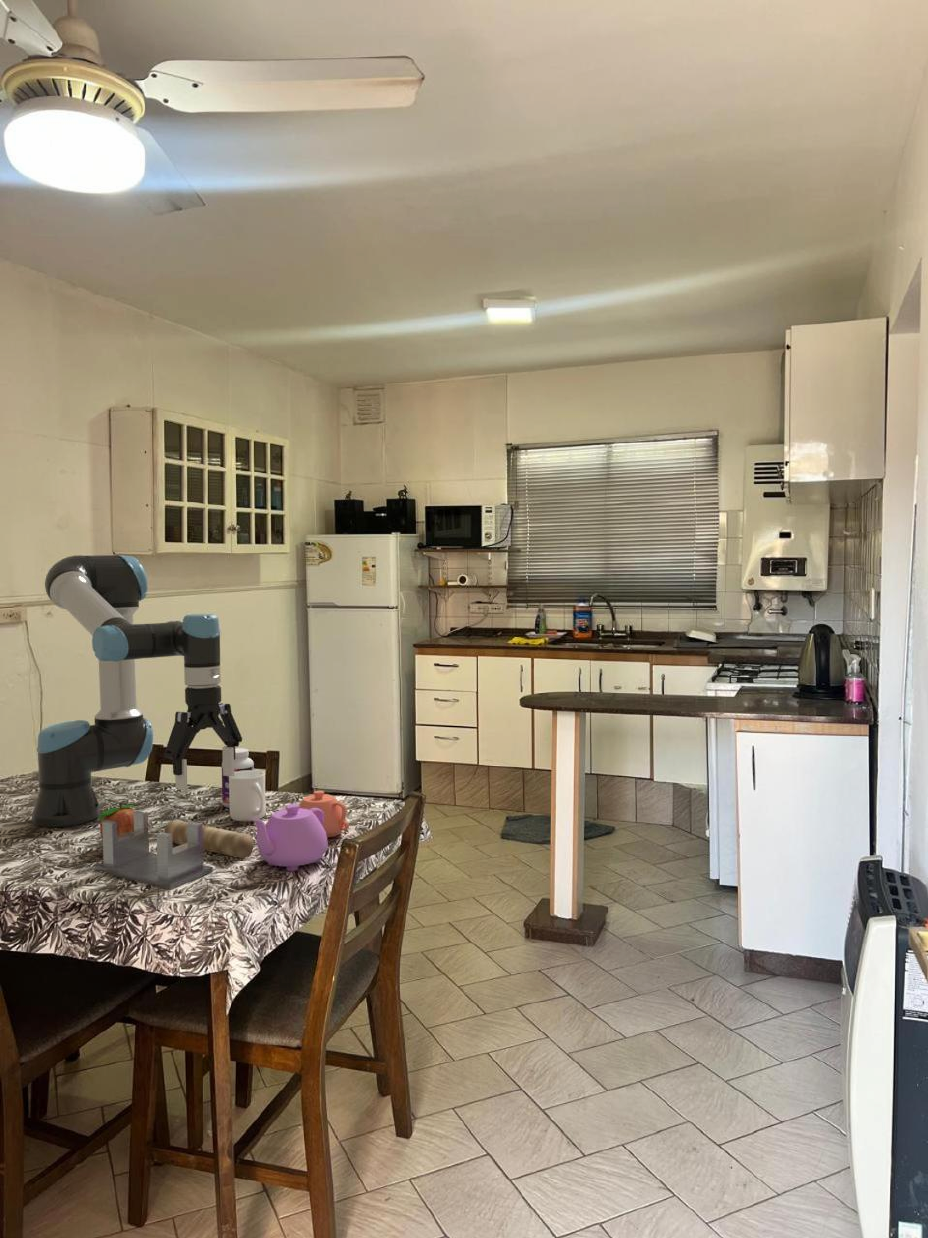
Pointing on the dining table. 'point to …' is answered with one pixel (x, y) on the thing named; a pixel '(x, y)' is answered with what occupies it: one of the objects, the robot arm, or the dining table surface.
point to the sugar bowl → (328, 811)
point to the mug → (247, 795)
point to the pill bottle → (239, 765)
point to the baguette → (214, 839)
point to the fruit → (119, 819)
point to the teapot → (292, 837)
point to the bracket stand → (152, 855)
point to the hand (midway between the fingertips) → (205, 782)
